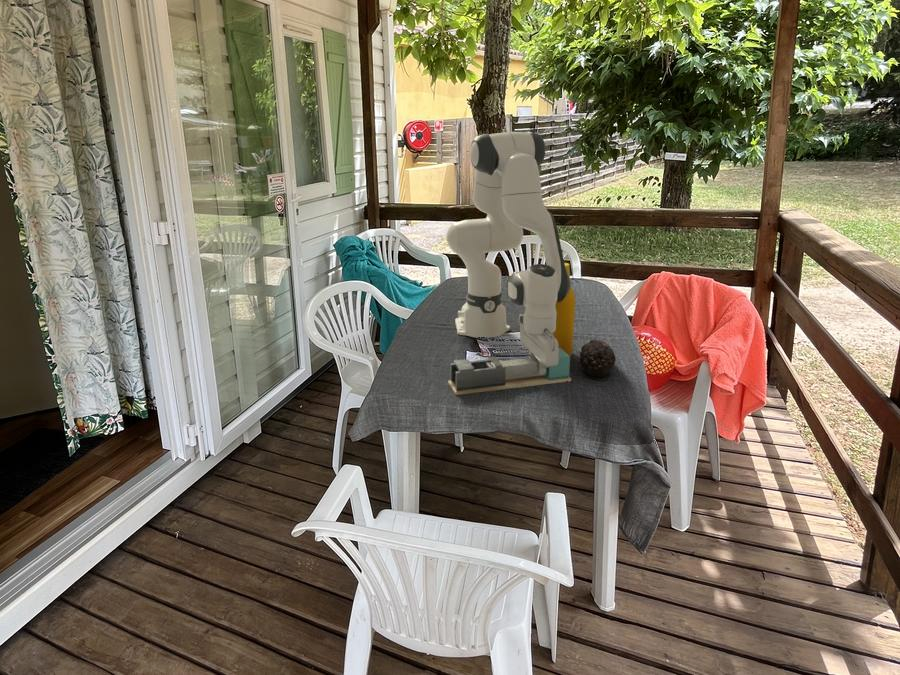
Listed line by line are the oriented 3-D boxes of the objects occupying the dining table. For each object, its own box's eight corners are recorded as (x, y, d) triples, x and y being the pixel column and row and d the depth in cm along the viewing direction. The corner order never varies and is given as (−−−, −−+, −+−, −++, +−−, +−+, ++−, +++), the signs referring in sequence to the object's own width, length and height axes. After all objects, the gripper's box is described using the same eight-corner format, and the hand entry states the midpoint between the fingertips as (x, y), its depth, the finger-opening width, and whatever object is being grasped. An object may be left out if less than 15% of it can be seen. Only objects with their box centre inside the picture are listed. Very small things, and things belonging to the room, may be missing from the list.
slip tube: (485, 375, 179) (485, 362, 177) (551, 368, 183) (551, 355, 182) (489, 381, 175) (490, 368, 174) (556, 373, 180) (557, 360, 178)
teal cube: (539, 373, 185) (540, 349, 182) (558, 371, 186) (559, 347, 183) (549, 382, 178) (550, 358, 176) (568, 380, 180) (570, 356, 177)
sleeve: (450, 381, 178) (450, 360, 176) (497, 375, 181) (497, 355, 179) (456, 391, 172) (456, 370, 170) (505, 385, 175) (505, 364, 173)
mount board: (448, 383, 179) (448, 380, 179) (559, 370, 187) (559, 367, 186) (455, 394, 172) (455, 392, 171) (571, 381, 179) (571, 378, 179)
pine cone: (607, 359, 195) (610, 328, 191) (617, 383, 178) (620, 350, 175) (573, 358, 195) (575, 327, 192) (579, 382, 179) (582, 349, 175)
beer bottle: (545, 360, 194) (549, 268, 184) (540, 349, 203) (544, 260, 193) (575, 359, 194) (581, 267, 184) (569, 348, 203) (574, 260, 193)
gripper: (566, 335, 166) (563, 382, 171) (537, 311, 185) (535, 355, 190) (543, 337, 165) (541, 385, 170) (516, 313, 184) (515, 357, 188)
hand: (537, 369), depth 180 cm, fingers closed on slip tube, 4 cm apart
